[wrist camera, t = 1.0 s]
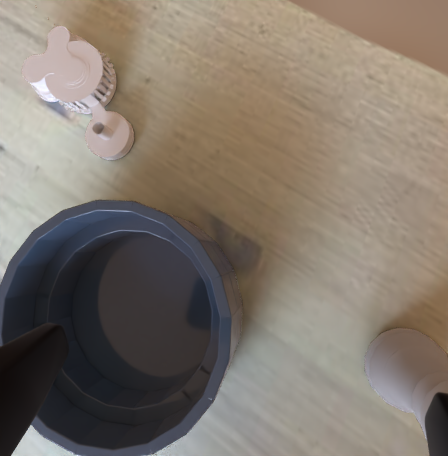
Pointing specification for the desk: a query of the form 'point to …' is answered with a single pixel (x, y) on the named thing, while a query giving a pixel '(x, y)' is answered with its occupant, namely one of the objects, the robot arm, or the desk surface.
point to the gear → (81, 89)
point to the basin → (125, 324)
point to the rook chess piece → (407, 370)
